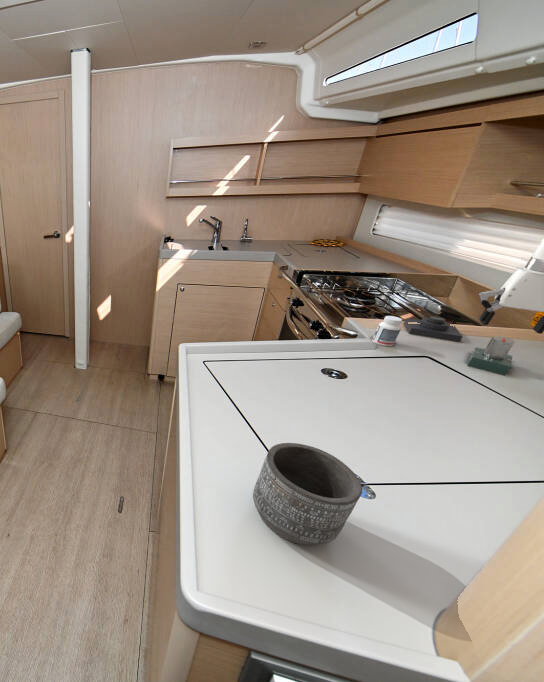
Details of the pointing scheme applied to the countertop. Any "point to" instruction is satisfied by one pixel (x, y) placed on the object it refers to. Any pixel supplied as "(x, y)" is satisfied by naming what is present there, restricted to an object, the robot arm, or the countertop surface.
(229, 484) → the countertop surface
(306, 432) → the countertop surface
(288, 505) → the planter
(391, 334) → the pill bottle
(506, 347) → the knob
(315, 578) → the countertop surface
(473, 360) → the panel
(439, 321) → the button
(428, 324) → the housing
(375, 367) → the countertop surface
